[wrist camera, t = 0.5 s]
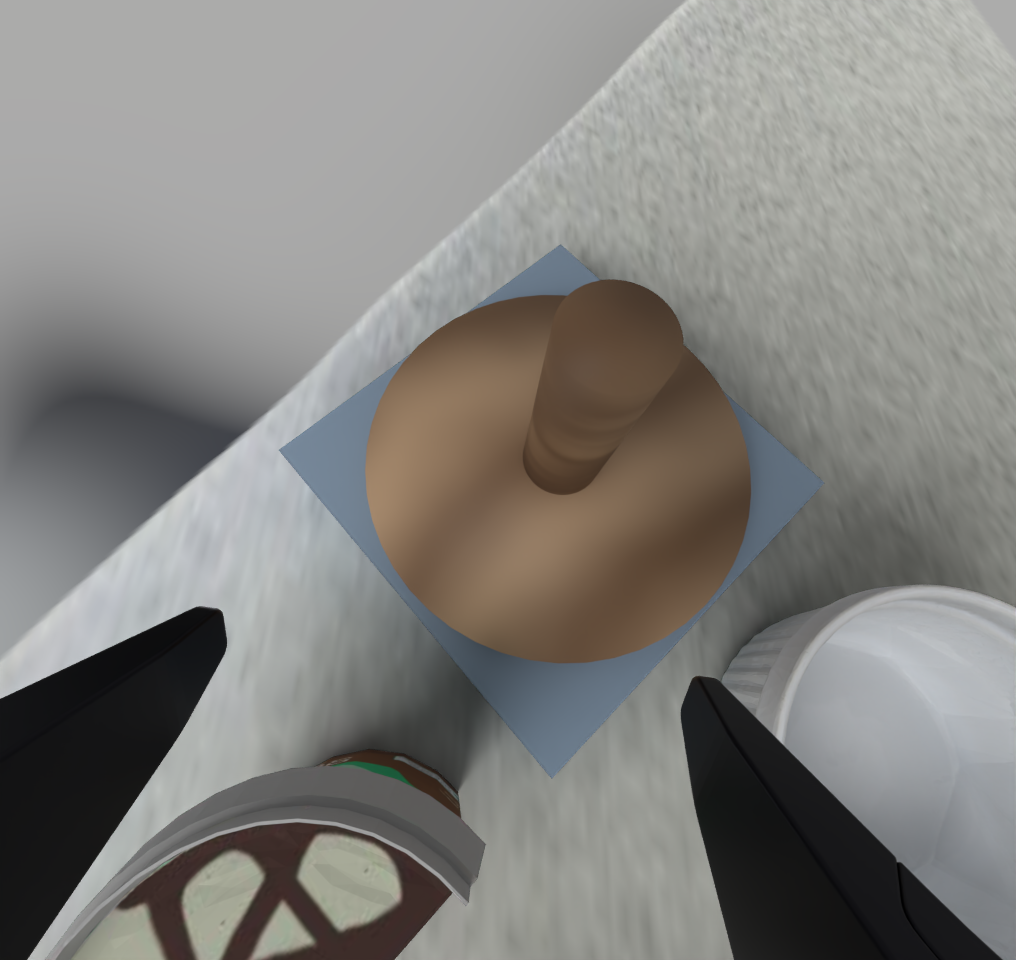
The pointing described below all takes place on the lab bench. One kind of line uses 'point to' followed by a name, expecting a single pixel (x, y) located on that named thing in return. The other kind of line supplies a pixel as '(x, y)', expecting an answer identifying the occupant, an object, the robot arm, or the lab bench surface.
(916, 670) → the ramekin
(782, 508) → the mat
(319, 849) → the food container
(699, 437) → the lid
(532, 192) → the lab bench surface
